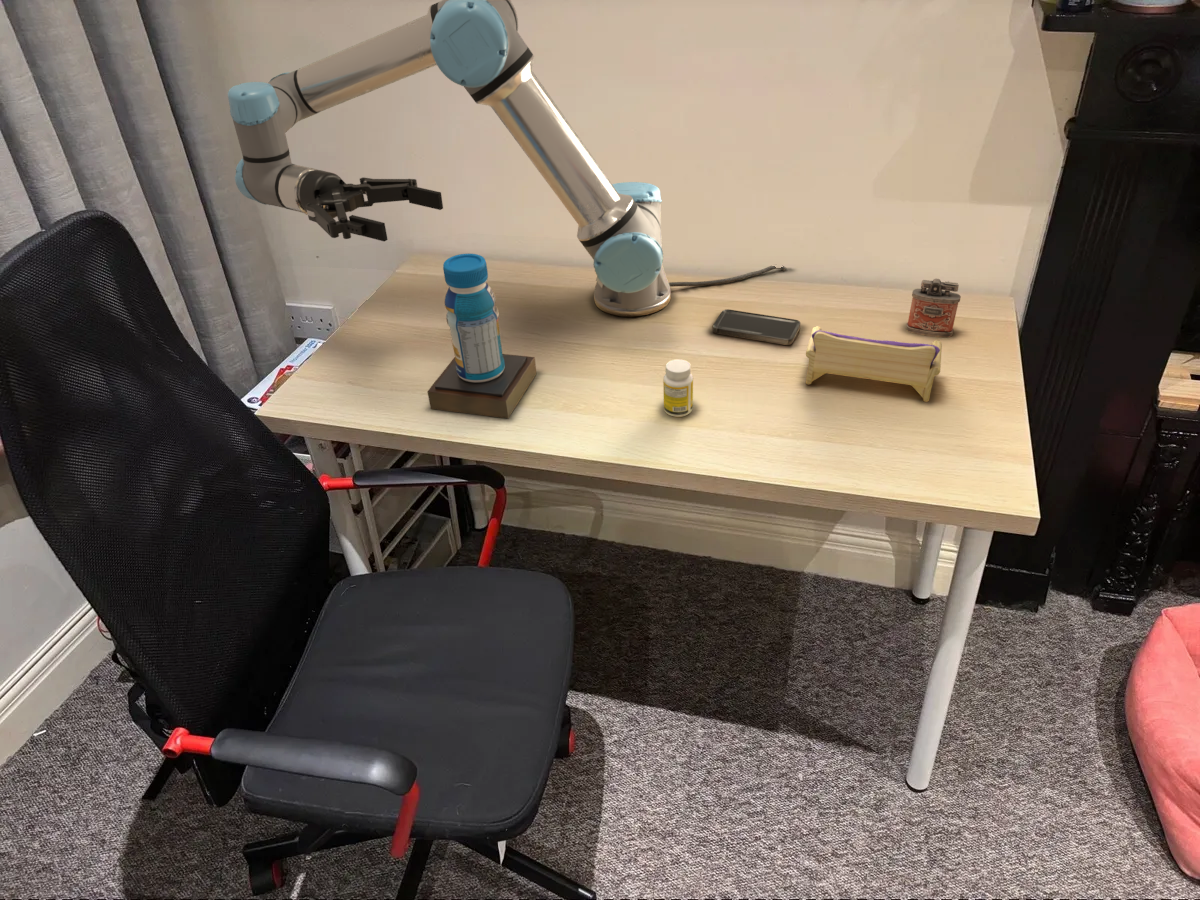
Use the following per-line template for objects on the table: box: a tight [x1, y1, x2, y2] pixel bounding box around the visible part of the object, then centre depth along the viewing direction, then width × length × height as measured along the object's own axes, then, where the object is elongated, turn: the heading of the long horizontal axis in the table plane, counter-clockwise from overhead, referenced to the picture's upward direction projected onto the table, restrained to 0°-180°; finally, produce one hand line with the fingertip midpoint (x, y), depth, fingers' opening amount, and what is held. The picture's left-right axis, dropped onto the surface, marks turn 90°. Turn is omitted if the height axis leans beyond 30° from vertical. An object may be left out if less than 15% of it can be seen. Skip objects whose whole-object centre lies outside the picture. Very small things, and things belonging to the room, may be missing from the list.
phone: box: [712, 308, 801, 346], centre depth 160 cm, size 8×1×15 cm
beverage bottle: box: [442, 253, 505, 383], centre depth 140 cm, size 8×8×20 cm
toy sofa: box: [805, 326, 943, 403], centre depth 141 cm, size 21×9×10 cm, turn 71°
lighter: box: [905, 278, 962, 338], centre depth 153 cm, size 8×3×10 cm, turn 68°
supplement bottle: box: [662, 358, 694, 418], centre depth 138 cm, size 5×5×8 cm
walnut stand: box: [427, 353, 537, 420], centre depth 147 cm, size 14×14×4 cm
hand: (413, 216), depth 135 cm, fingers open, 13 cm apart
